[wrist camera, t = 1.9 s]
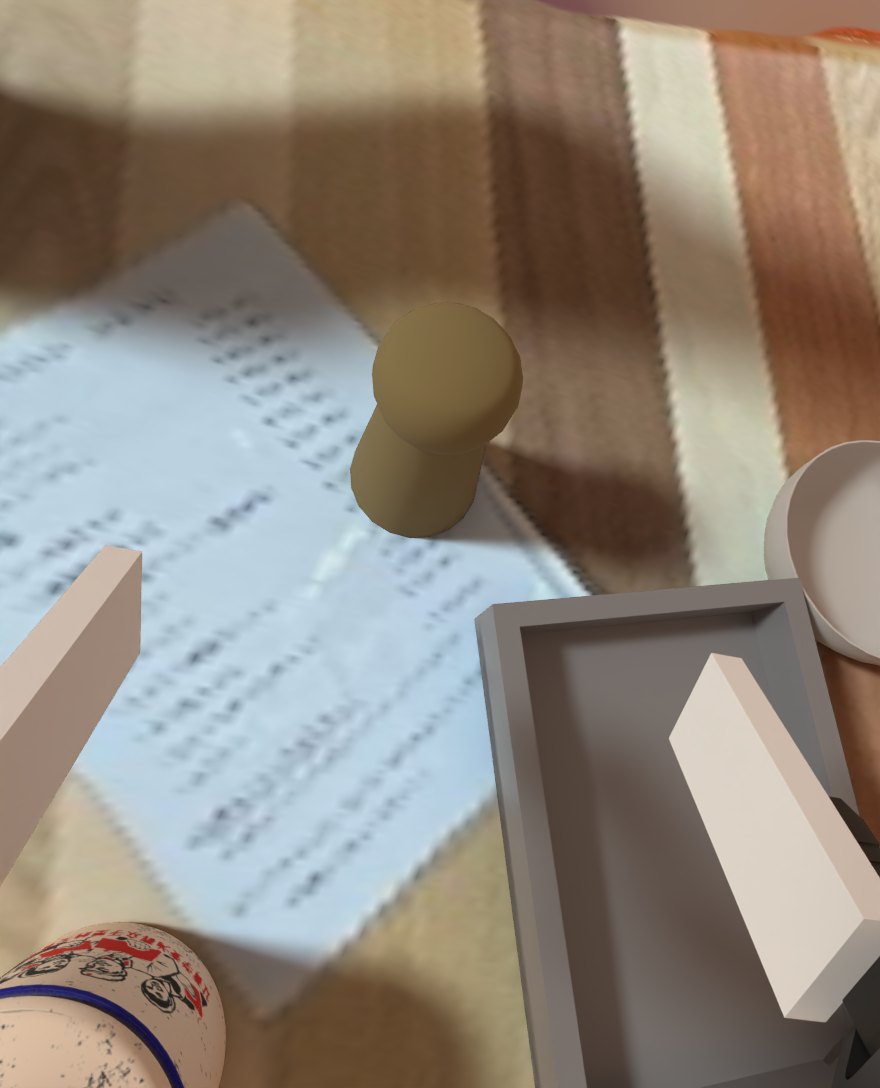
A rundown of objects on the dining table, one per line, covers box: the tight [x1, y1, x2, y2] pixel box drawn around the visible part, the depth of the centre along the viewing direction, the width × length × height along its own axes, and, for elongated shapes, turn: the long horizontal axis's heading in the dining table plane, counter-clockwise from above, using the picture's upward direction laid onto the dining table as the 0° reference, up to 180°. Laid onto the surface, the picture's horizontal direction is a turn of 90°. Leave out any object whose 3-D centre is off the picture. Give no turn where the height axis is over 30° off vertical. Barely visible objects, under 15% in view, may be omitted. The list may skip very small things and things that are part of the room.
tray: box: [475, 578, 860, 1088], centre depth 29 cm, size 20×14×4 cm
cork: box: [350, 303, 523, 538], centre depth 28 cm, size 6×6×11 cm
